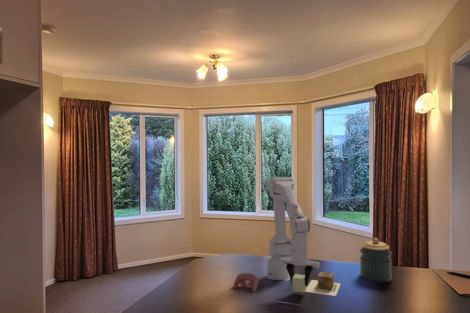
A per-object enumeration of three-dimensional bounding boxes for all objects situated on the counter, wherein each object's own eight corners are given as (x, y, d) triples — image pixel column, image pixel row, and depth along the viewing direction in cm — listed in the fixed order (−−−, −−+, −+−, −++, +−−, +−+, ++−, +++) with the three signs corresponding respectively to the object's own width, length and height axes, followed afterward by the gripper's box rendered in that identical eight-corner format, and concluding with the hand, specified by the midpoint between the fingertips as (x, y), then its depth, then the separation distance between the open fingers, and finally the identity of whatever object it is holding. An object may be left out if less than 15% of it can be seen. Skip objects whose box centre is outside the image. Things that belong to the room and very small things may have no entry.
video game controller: (258, 293, 151) (261, 275, 154) (254, 291, 147) (257, 273, 150) (236, 289, 155) (239, 272, 158) (232, 287, 151) (235, 270, 154)
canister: (358, 281, 160) (358, 240, 159) (360, 271, 172) (360, 233, 171) (391, 285, 155) (392, 243, 154) (391, 275, 167) (391, 236, 166)
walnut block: (317, 288, 150) (317, 275, 150) (320, 283, 155) (320, 271, 155) (331, 290, 148) (332, 277, 148) (333, 285, 153) (334, 273, 153)
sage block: (292, 290, 143) (292, 277, 142) (295, 286, 147) (295, 274, 147) (304, 292, 141) (304, 279, 141) (306, 288, 145) (306, 275, 145)
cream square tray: (304, 292, 147) (304, 291, 147) (311, 281, 160) (311, 279, 160) (335, 297, 142) (335, 295, 142) (340, 285, 155) (340, 283, 155)
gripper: (278, 249, 142) (278, 285, 143) (316, 254, 137) (316, 290, 137) (283, 245, 149) (283, 279, 149) (320, 249, 143) (320, 284, 144)
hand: (299, 284), depth 144 cm, fingers closed on sage block, 4 cm apart
